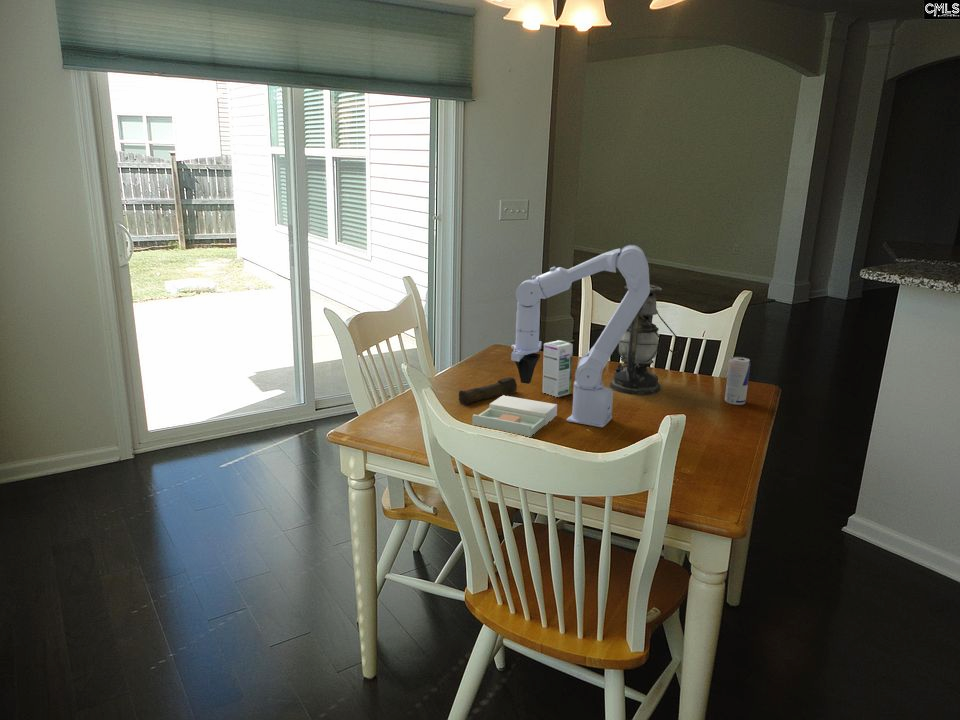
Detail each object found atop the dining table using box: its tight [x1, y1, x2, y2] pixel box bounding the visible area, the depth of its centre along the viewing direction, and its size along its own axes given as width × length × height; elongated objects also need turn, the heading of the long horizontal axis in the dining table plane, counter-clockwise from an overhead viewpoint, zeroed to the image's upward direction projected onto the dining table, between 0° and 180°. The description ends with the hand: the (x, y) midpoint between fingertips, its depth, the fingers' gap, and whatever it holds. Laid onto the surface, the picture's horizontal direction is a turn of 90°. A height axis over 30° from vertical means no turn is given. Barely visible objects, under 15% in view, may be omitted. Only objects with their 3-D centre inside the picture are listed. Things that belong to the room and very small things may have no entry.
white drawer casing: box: [488, 395, 558, 426], centre depth 176 cm, size 15×8×3 cm, turn 63°
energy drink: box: [724, 356, 751, 406], centre depth 188 cm, size 5×5×12 cm
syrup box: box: [542, 339, 574, 398], centre depth 192 cm, size 6×6×14 cm
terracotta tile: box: [497, 414, 521, 423], centre depth 168 cm, size 4×4×2 cm
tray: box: [471, 407, 546, 438], centre depth 169 cm, size 15×9×3 cm, turn 63°
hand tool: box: [458, 376, 518, 406], centre depth 189 cm, size 19×4×5 cm, turn 126°
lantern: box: [609, 283, 682, 396], centre depth 196 cm, size 19×19×30 cm
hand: (525, 382), depth 175 cm, fingers closed
